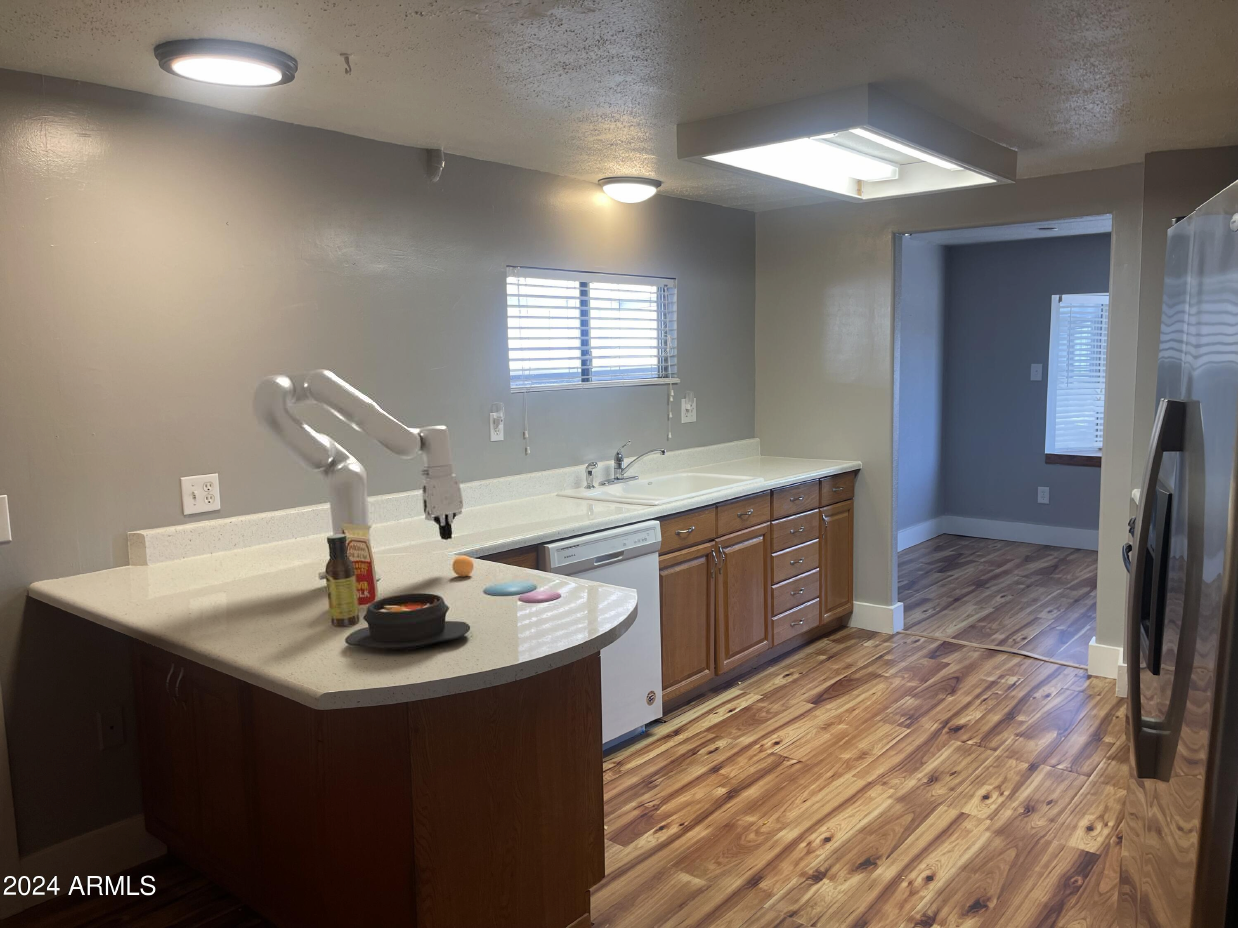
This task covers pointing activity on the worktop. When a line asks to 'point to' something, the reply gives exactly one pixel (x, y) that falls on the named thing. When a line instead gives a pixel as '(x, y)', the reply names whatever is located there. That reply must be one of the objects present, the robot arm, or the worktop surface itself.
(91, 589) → the worktop surface
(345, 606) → the sauce bottle
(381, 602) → the casserole
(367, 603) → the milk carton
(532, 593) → the disc
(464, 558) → the ball
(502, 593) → the disc
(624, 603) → the worktop surface
